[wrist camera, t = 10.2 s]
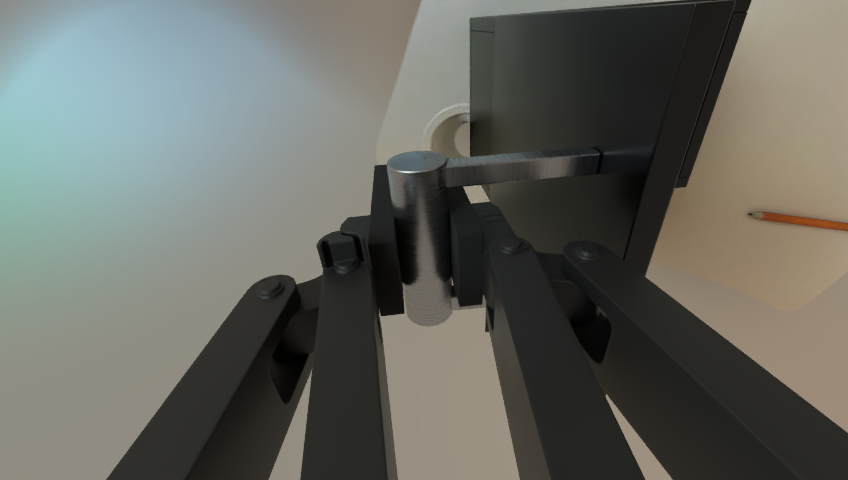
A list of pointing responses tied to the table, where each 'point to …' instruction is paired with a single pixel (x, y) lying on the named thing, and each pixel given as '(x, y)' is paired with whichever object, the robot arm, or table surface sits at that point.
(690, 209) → the table surface
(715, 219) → the table surface
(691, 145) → the black box
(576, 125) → the box lid
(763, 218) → the pencil
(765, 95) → the table surface
